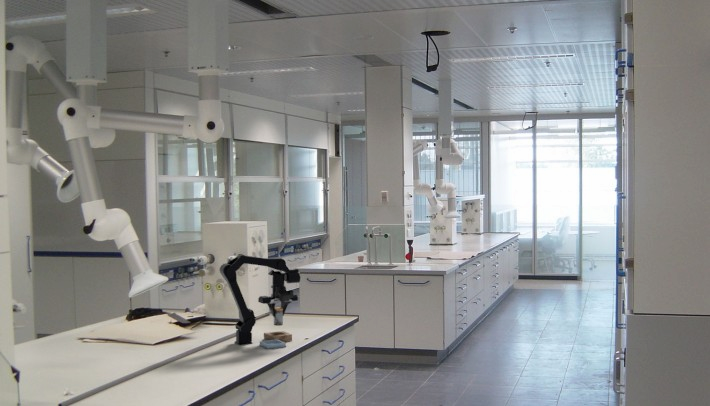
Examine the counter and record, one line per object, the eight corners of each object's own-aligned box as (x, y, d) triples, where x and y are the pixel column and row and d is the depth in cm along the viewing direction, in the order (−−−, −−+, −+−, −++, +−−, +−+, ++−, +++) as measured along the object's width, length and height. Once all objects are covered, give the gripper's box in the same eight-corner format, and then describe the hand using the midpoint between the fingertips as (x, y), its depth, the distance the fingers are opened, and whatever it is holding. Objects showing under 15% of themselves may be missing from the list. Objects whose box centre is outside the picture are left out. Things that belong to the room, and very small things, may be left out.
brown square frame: (273, 343, 345) (273, 336, 345) (263, 339, 354) (263, 332, 354) (291, 340, 351) (291, 334, 351) (282, 336, 359) (282, 330, 359)
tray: (268, 349, 333) (268, 345, 333) (259, 345, 340) (259, 341, 340) (285, 346, 338) (285, 343, 338) (276, 343, 345) (276, 339, 345)
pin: (276, 326, 349) (276, 309, 348) (271, 324, 353) (271, 307, 352) (285, 325, 351) (285, 308, 351) (280, 323, 355) (280, 306, 355)
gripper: (268, 287, 340) (268, 321, 340) (303, 284, 350) (303, 317, 350) (257, 284, 349) (257, 317, 349) (292, 281, 359) (292, 313, 360)
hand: (278, 316), depth 352 cm, fingers closed on pin, 4 cm apart
